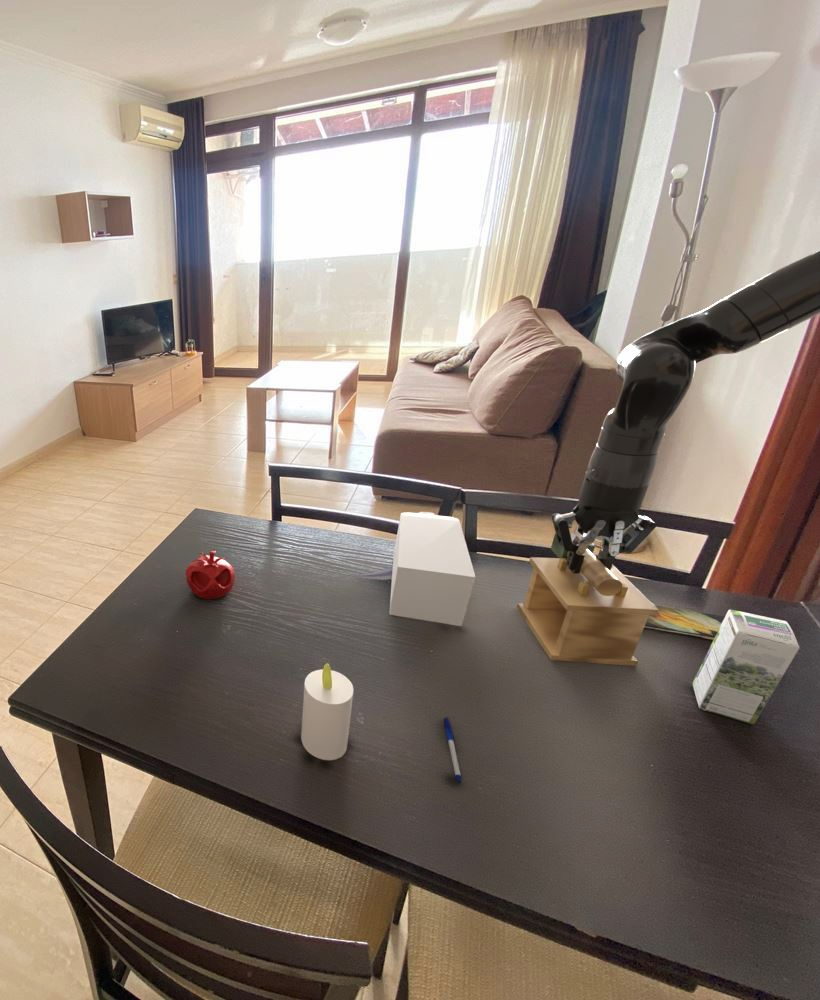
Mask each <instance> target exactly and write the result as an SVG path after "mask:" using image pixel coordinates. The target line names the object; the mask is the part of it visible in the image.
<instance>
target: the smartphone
mask: <svg viewBox="0 0 820 1000" xmlns="http://www.w3.org/2000/svg"><path fill="white" fill-rule="evenodd" d="M653 605H654V606H655V607H656V608H657V609H658V610H659V611H658V614H657V615H649V616H648V619H647V621H646V624H645V626H644V629H645V628H646V629H649V630H650V629H651V630H657V631H663V632H669V633H675V634H681V635H687V636H692V637H698V638H702V639H707V640H712V641H714V638H715V636H716V634H717V632H718V630H719V628H720V626H721V624H722V622H723V620H724V618H725V616H726V615H725V616H724V615H722V614H721V615H720V614H714V613H707V612H700V611H693V610H688V609H682V608H674V607H669V606H668V607H667V606H662V605H655V604H653Z"/></svg>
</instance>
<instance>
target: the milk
mask: <svg viewBox="0 0 820 1000" xmlns="http://www.w3.org/2000/svg"><path fill="white" fill-rule="evenodd" d="M397 527H398V528H397V533H396V539H395V545H394V549H393V558H392V562H393V565H392V566H393V570H392V579H391V585H390V596H389V598H390V599H389V612H388V613H389V614H388V615H389V616H395V617H402V618H407V619H413V620H418V621H419V620H420V621H426V622H431V623H438V624H446V625H451V626H457V627H463V623H464V620H465V617H466V612H467V608H468V605H469V601H470V598H471V595H472V591H473V587H474V584H475V581H476V573H475V570H474V566H473V563H472V559H471V556H470V553H469V549H468V546H467V542H466V539H465V534H464V532H463V528H462V525H461V522H460V519H459V518H457V517H453V516H448V515H447V516H446V515H438V514H435V513H434V512H431V511H419V512H410V511H409V512H400V516H399V522H398V526H397Z"/></svg>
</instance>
